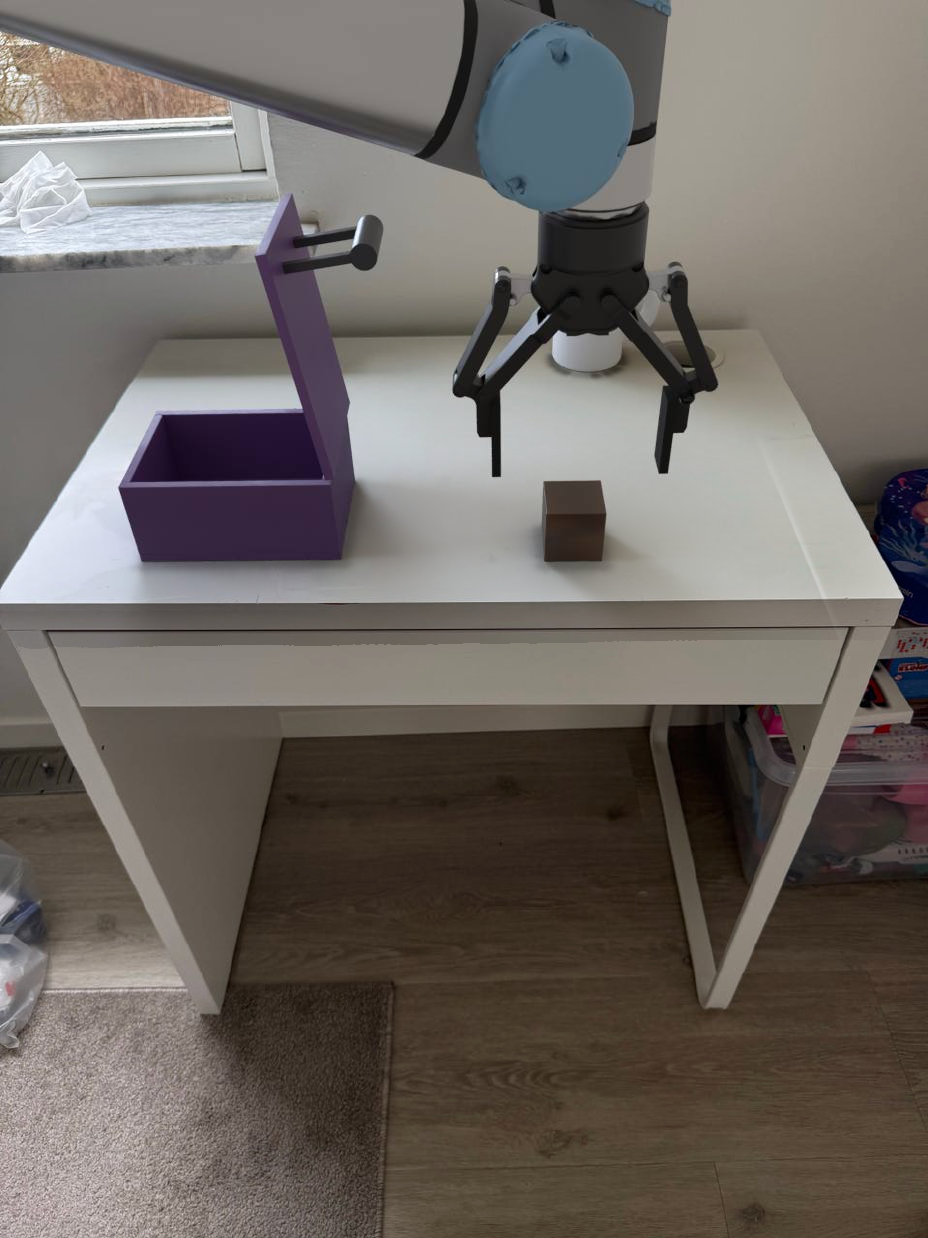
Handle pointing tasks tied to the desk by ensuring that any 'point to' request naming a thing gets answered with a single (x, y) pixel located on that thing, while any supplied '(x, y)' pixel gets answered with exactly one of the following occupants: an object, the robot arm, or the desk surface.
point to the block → (573, 520)
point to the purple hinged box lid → (312, 316)
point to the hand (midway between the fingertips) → (578, 466)
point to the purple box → (235, 488)
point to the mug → (598, 343)
